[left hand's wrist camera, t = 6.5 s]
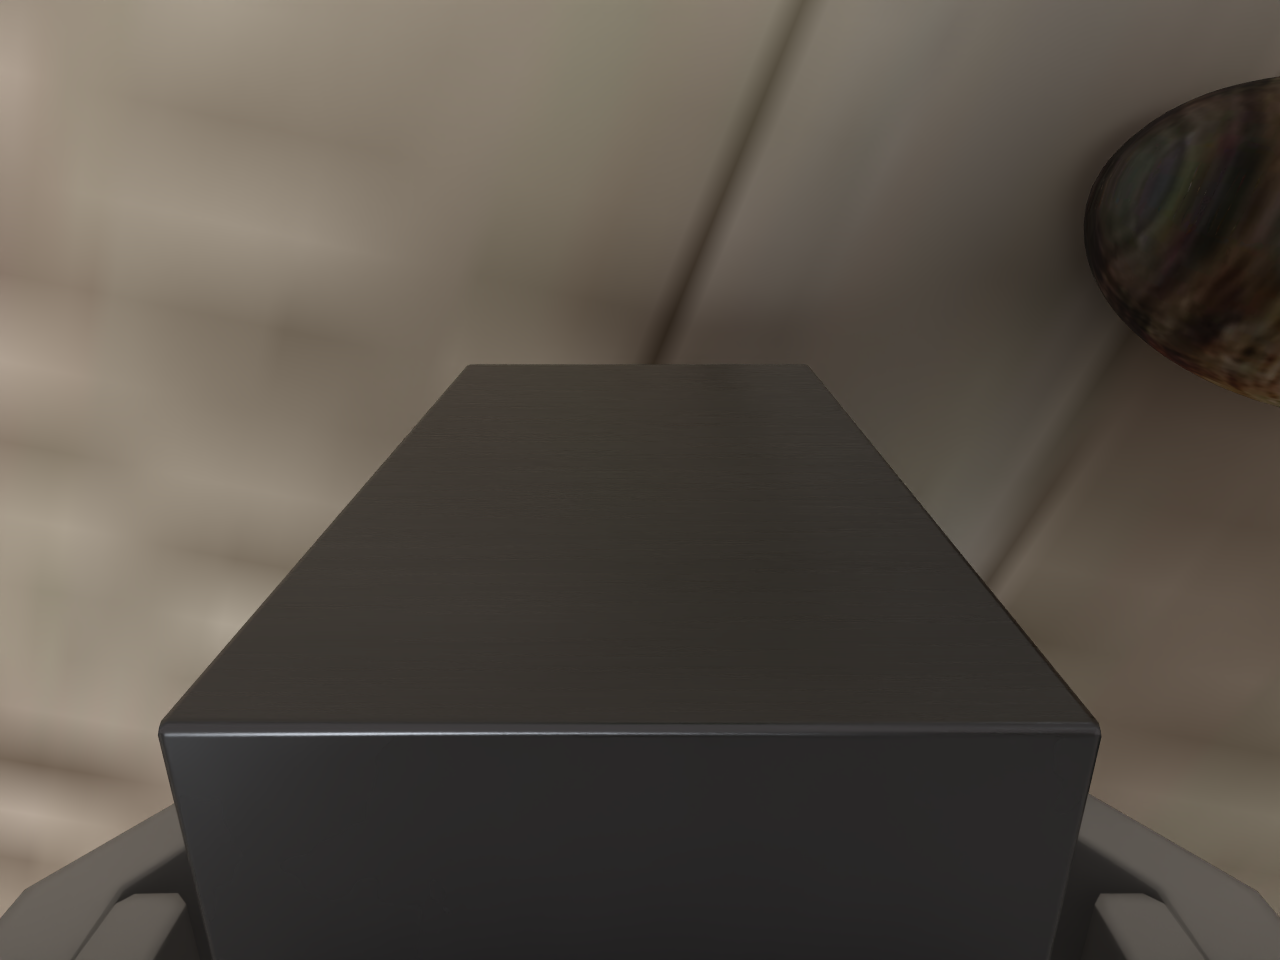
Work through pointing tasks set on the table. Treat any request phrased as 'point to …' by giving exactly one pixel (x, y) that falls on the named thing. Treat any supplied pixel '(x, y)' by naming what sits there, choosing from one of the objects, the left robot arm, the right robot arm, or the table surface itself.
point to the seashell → (1198, 236)
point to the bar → (631, 700)
